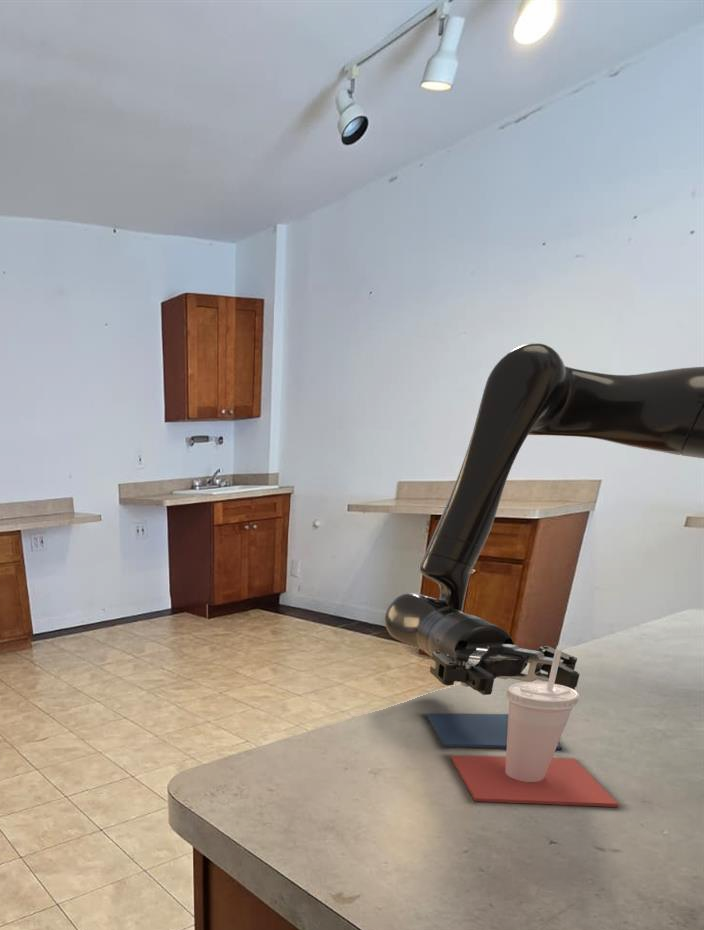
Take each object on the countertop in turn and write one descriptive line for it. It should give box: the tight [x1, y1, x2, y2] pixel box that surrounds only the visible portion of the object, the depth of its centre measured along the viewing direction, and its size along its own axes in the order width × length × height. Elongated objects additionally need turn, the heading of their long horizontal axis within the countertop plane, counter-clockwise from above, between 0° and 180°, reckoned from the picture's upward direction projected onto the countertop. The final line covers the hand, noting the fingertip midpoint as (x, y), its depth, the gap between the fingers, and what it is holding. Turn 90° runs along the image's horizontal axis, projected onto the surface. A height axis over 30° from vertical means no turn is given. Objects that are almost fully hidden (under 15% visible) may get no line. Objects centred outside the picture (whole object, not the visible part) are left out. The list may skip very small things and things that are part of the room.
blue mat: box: [426, 712, 563, 750], centre depth 82 cm, size 13×11×1 cm
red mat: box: [450, 754, 619, 808], centre depth 69 cm, size 13×11×1 cm
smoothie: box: [505, 648, 580, 782], centre depth 67 cm, size 6×6×14 cm
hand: (531, 684), depth 68 cm, fingers open, 8 cm apart
